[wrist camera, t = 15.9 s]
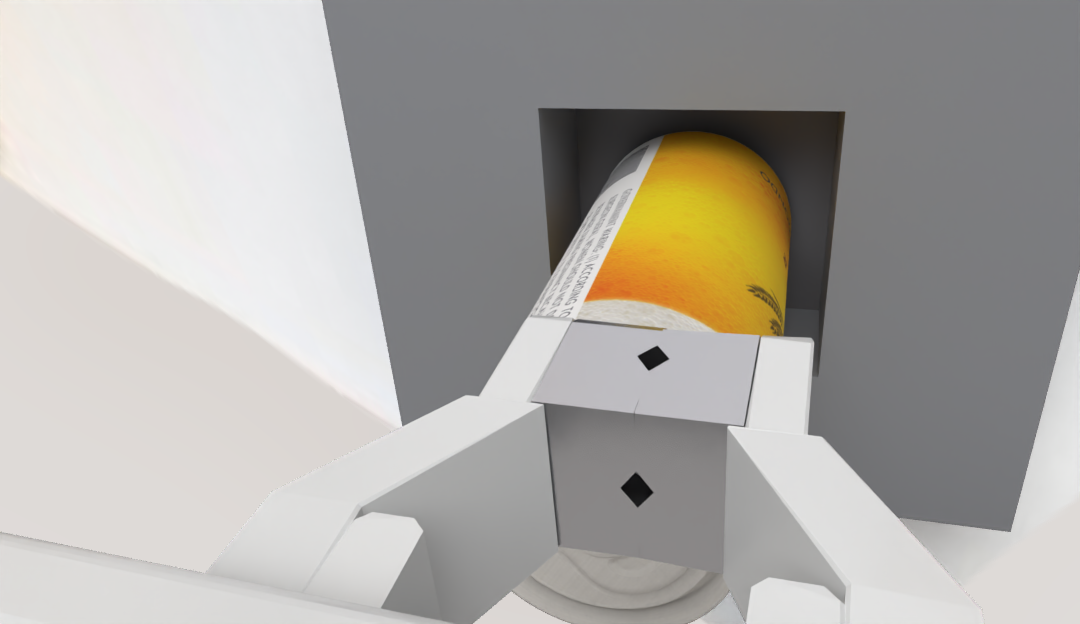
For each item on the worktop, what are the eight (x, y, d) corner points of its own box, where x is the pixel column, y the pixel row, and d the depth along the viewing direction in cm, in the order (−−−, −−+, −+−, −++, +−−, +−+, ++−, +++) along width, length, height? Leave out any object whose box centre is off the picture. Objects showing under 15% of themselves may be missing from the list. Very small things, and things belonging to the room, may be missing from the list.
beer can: (703, 328, 30) (621, 691, 18) (568, 218, 30) (384, 514, 17) (834, 209, 27) (845, 551, 15) (685, 82, 26) (562, 326, 14)
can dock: (1115, -144, 22) (1184, -128, 18) (985, 432, 31) (1010, 531, 26) (385, -100, 27) (306, -80, 23) (455, 378, 36) (407, 454, 32)
